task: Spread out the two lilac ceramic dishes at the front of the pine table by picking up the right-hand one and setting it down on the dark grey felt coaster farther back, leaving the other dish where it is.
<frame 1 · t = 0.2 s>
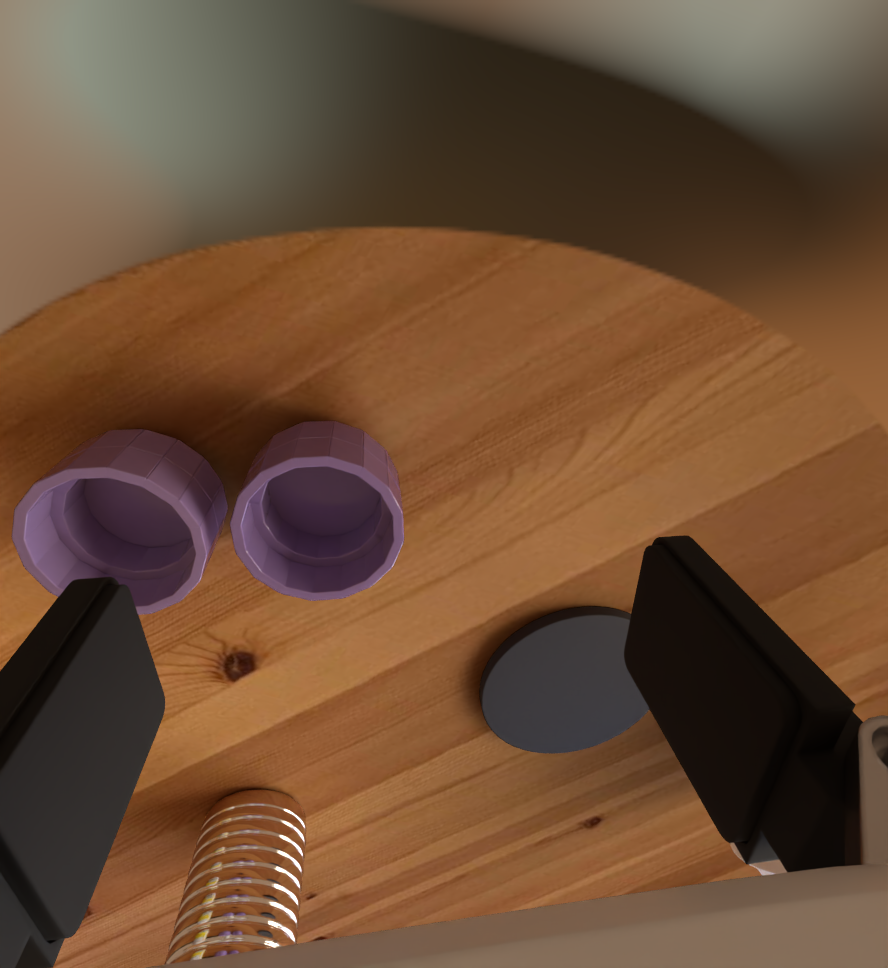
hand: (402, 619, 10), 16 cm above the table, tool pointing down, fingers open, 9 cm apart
water bottle: (257, 813, 37), on the table
piggy bank: (753, 736, 40), on the table
dish a: (152, 493, 25), on the table
dish b: (326, 483, 26), on the table
coaster: (571, 679, 35), on the table
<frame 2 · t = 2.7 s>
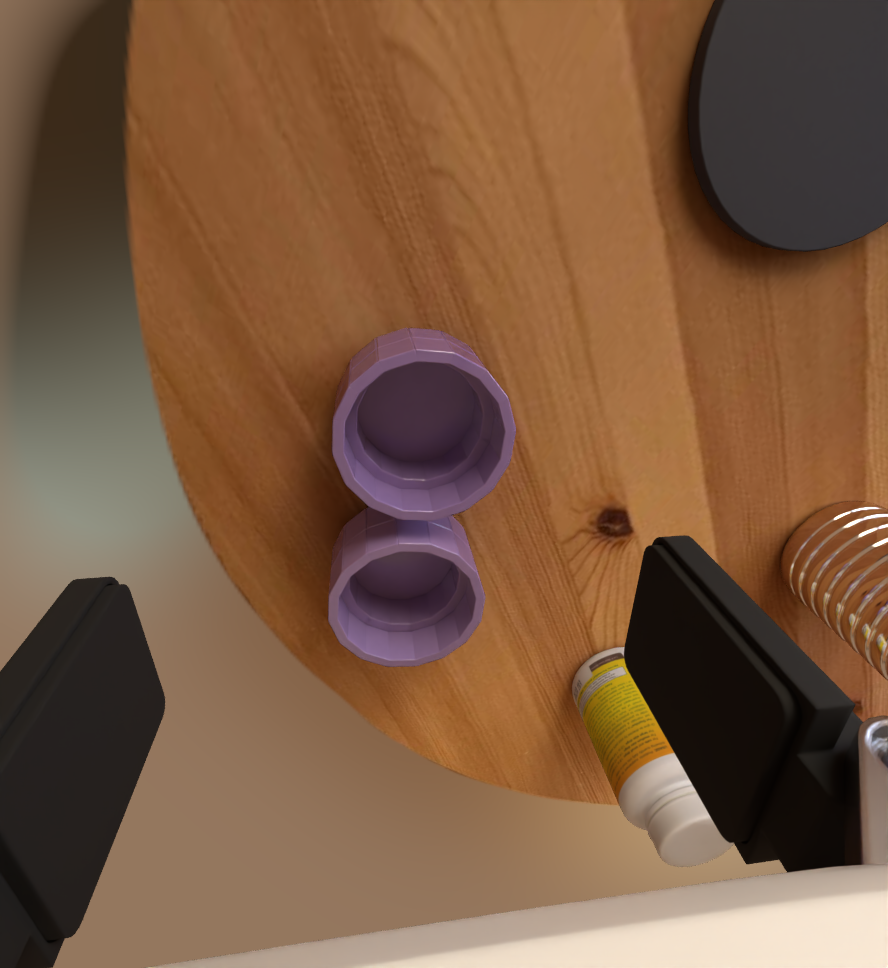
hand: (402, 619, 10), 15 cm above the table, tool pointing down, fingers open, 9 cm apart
water bottle: (827, 544, 32), on the table
dish a: (401, 551, 28), on the table
supplement bottle: (610, 673, 34), on the table
dish b: (415, 403, 24), on the table
coaster: (837, 79, 21), on the table
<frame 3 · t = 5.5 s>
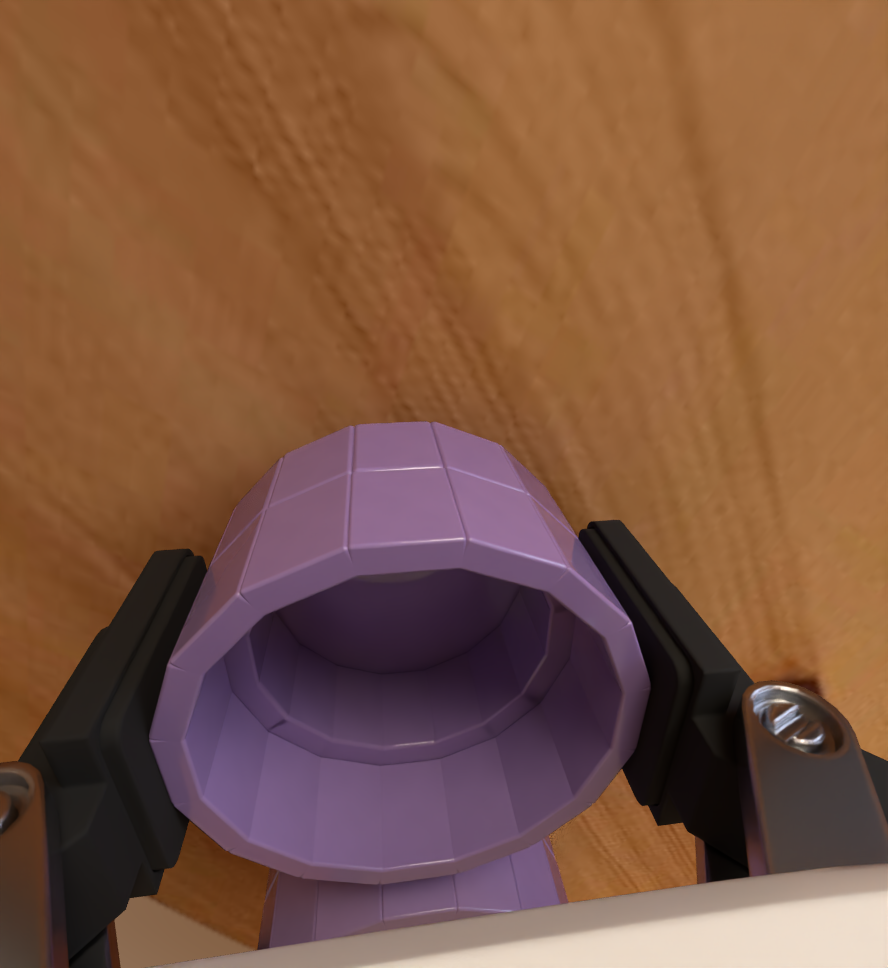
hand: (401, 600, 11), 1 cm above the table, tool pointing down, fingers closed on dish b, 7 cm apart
dish a: (408, 795, 15), on the table
dish b: (397, 562, 12), on the table, touching gripper
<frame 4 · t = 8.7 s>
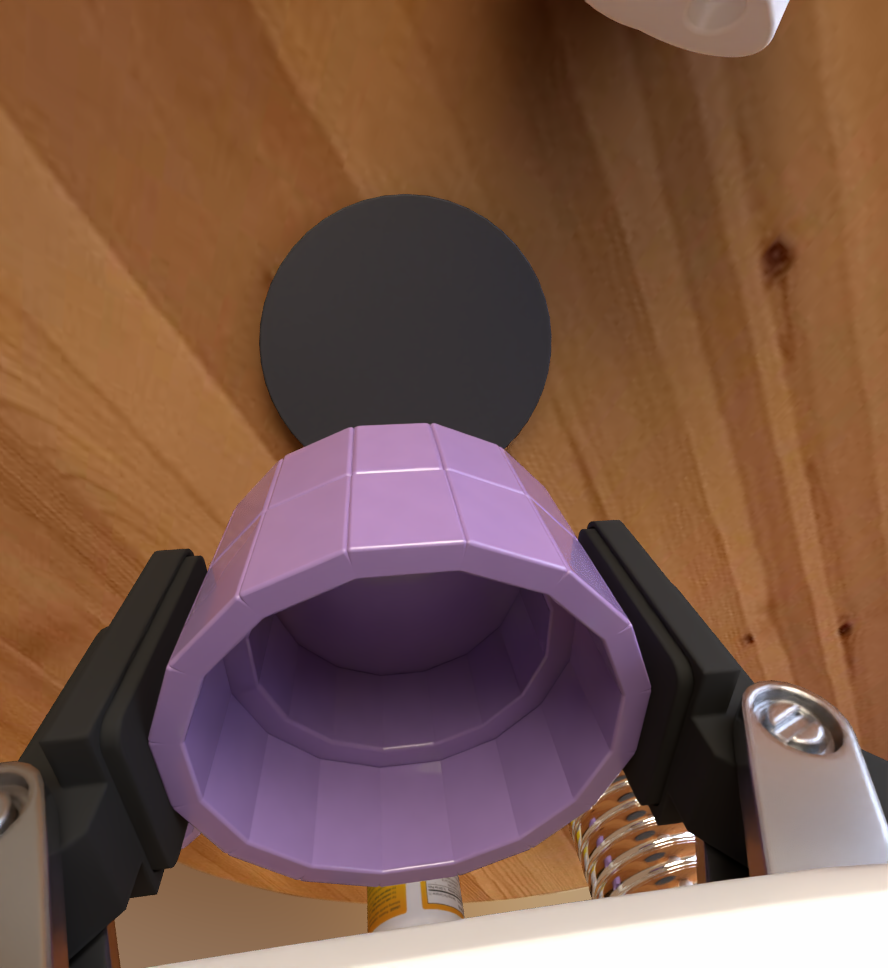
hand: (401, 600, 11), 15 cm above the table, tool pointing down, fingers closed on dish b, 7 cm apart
water bottle: (578, 683, 34), on the table
supplement bottle: (407, 804, 37), on the table
dish b: (397, 563, 12), point 13 cm above the table, touching gripper
coaster: (409, 354, 23), on the table
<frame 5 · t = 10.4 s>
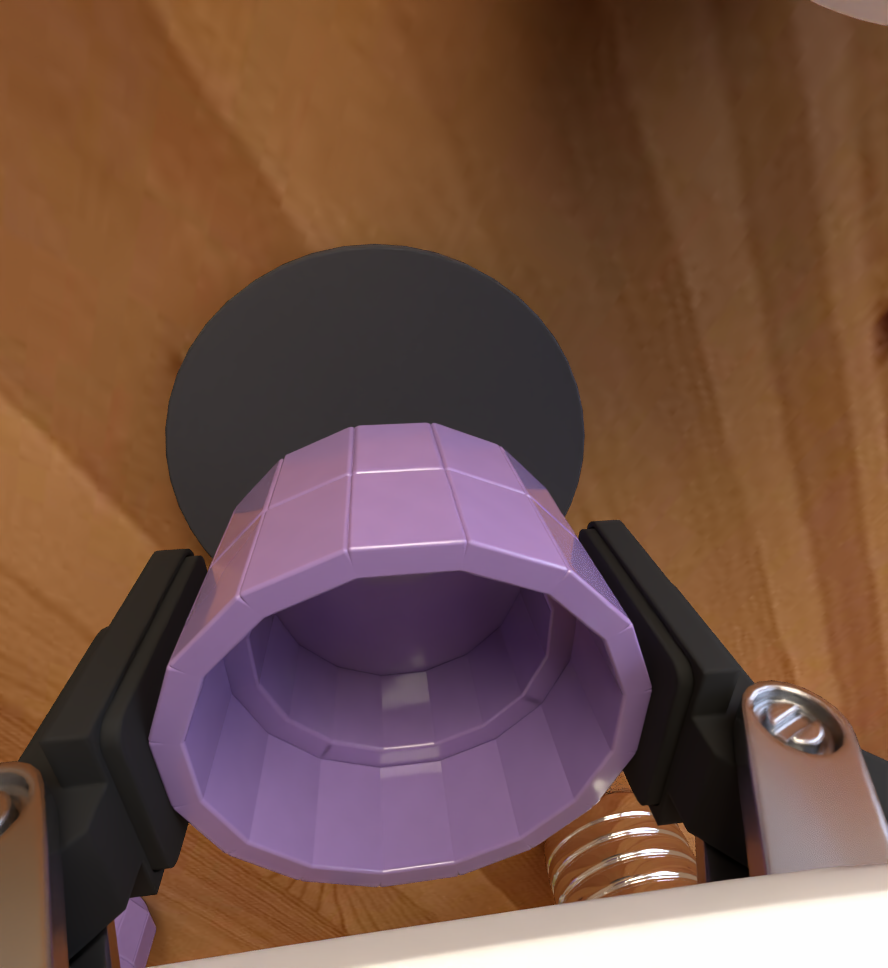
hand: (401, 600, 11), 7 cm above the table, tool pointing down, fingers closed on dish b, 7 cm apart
water bottle: (603, 825, 27), on the table
dish a: (78, 915, 25), on the table
dish b: (397, 563, 12), point 6 cm above the table, touching gripper
coaster: (385, 459, 16), on the table
when the fingers open (2 cm above the table, at t = 12.1 s): dish b stays where it is, resting on coaster.
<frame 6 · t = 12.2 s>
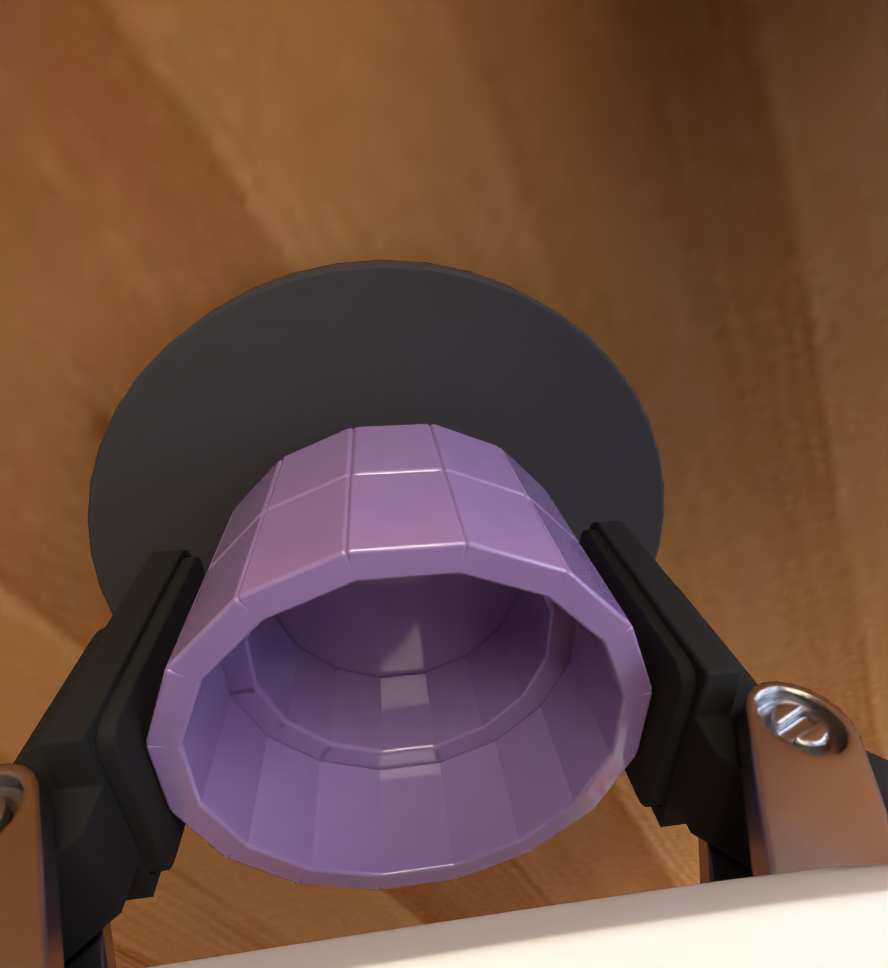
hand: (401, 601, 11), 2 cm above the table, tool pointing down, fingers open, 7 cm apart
dish b: (397, 564, 12), point 1 cm above the table, touching coaster
coaster: (394, 544, 12), on the table
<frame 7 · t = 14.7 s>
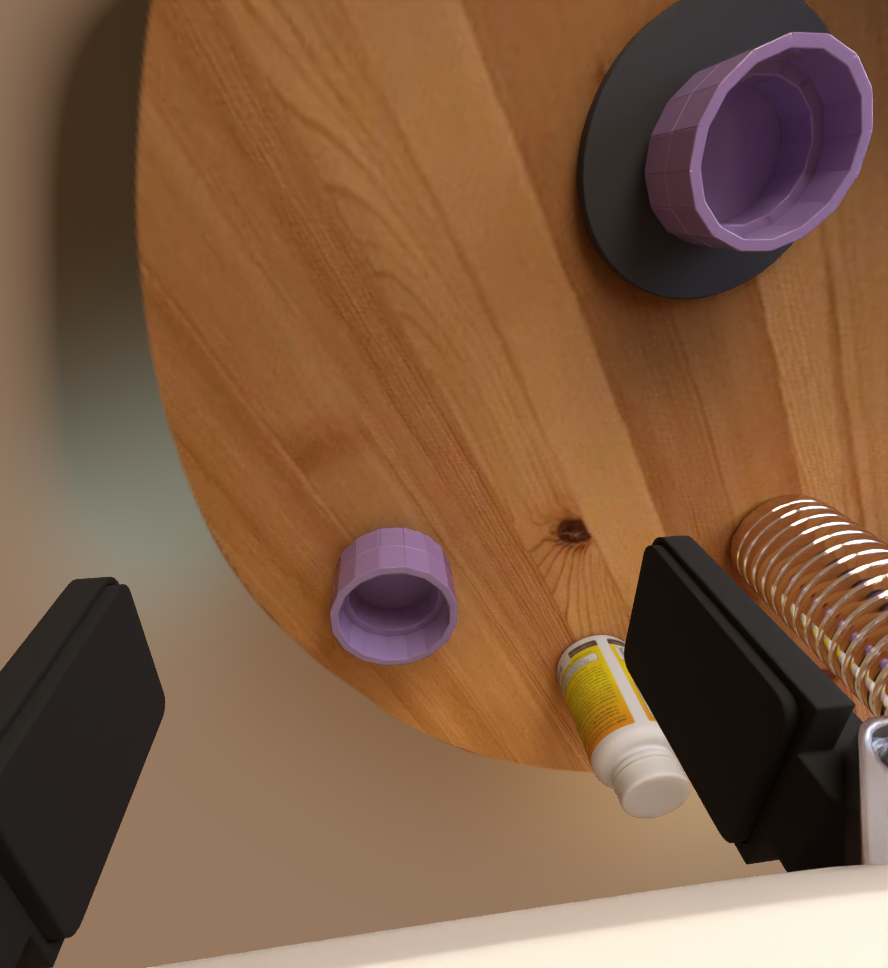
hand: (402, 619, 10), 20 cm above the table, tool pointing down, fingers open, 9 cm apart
water bottle: (773, 533, 36), on the table
dish a: (392, 569, 34), on the table
supplement bottle: (591, 657, 39), on the table
dish b: (715, 158, 24), point 1 cm above the table, touching coaster
coaster: (705, 159, 25), on the table
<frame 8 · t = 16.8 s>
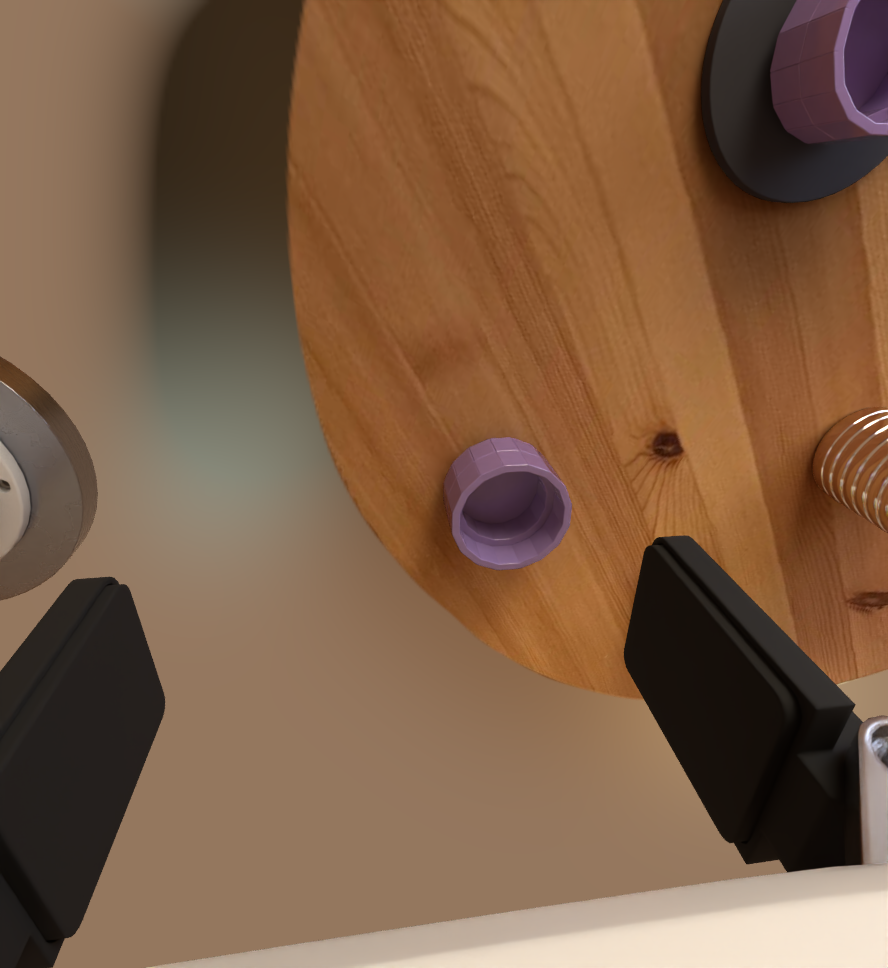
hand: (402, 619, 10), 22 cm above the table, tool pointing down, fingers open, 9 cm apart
water bottle: (852, 449, 37), on the table
dish a: (495, 484, 35), on the table
dish b: (832, 59, 26), point 1 cm above the table, touching coaster
coaster: (819, 63, 26), on the table
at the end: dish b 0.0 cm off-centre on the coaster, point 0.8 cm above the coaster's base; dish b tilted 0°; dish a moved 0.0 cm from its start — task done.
